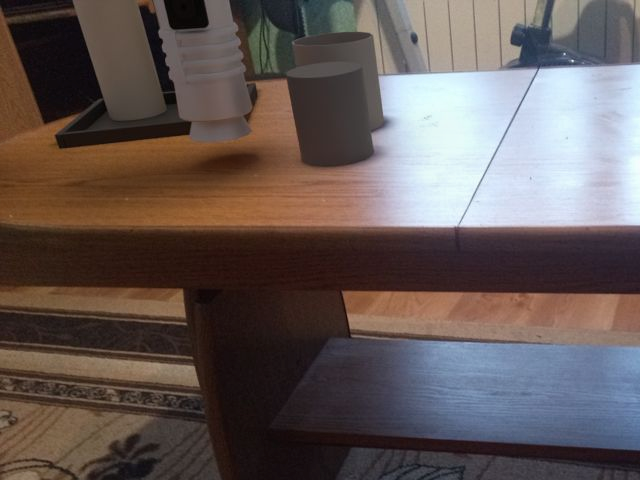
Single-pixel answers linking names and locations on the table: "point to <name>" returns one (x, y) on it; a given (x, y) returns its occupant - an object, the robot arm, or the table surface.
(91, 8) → the ivory candle left
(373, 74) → the cup
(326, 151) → the grey candle
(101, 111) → the tray
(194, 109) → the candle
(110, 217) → the table surface
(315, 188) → the table surface
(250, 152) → the table surface
